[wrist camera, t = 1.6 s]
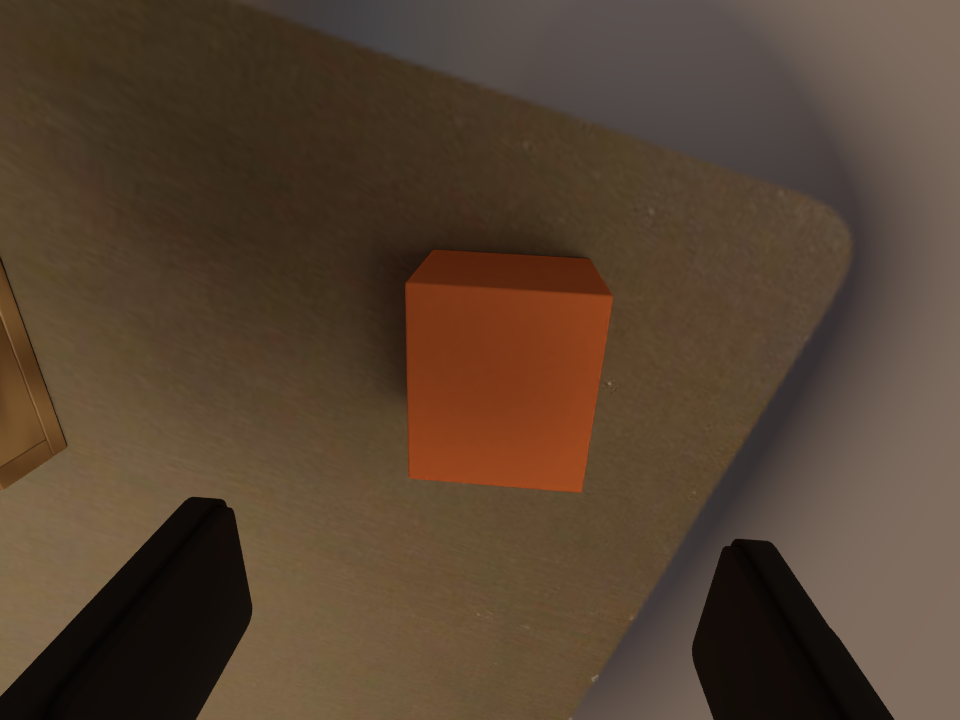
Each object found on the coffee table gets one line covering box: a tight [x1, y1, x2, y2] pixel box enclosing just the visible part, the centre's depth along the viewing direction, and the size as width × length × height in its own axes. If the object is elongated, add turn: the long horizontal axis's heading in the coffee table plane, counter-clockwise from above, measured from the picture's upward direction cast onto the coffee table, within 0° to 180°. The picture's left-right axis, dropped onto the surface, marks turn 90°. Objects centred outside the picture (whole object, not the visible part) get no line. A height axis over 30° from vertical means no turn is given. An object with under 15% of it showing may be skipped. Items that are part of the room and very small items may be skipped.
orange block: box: [405, 249, 613, 493], centre depth 18 cm, size 7×6×5 cm
